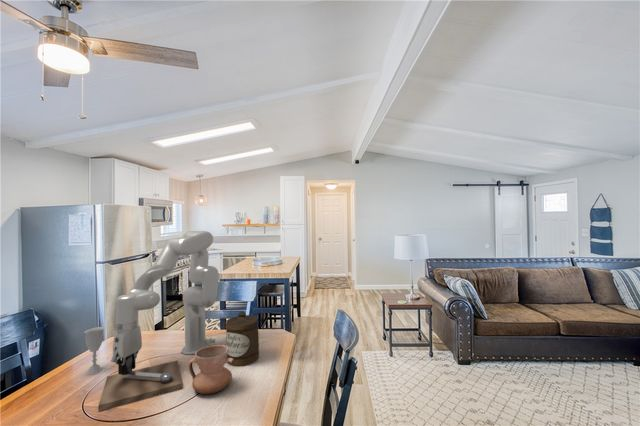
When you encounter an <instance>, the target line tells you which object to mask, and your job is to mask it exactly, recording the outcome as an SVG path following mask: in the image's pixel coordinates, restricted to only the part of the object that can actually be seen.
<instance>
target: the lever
mask: <svg viewBox="0 0 640 426" xmlns="http://www.w3.org/2000/svg"><path fill="white" fill-rule="evenodd" d="M125 364H126V374H125V375H122V378H130V379H142V380H154V381H160V382H161V383H166V382H169V381H171V380H172V379H173V372H165V373H163V374H158V373H145V372H133V369H132V355H129V356H128V357H126V360H125Z"/></svg>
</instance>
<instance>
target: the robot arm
mask: <svg viewBox="0 0 640 426" xmlns="http://www.w3.org/2000/svg"><path fill="white" fill-rule="evenodd" d="M213 242H214V236H213V234H212V233H211V232H209V231H206V230H191V231H187V232H185V233H183V235H182V237H171V238H169V239H167V240H166V242H165V243H164V245H163V247H162V249H161V251H160V253H159V254H158V255H157V257H156V260H155V261H154V263H153V265H152V266H150V267H149V268H147V270H146V271H145V272H144V273H142V274H141V275H140V276H139V277H138V279H136V280H135V282H134V284H133V285H132V286H131V287H132V288H131V289H130V290H129V293H128V294H123V295H119V296H118V297H116V300H115V327H114V331H115V332H114V335H113V342H112V357H111V359H110V362H111V363H114V364H116V365H118V369H117V372H118V373H117V374H121V375H125V374H126V364H125V360H126V357H128V356H129V355H132V370H136V359H137V357H138V354H139V351H141V349H142V347H143V346H142V345H143V341H142V340H143V339H142V338H143V337H142V330H141V327H140V325H139V311H146V310H151V309H154V308H155V307H157V305H159V304H160V301H161V297H160V294H159V293H158V292H156V291H154V290H150V288H151V287H152V286H153V284H155V283H156V282H157V281H158V280H160V279H162V278H165V277H167V276H168V275H171V274H172V273H173V271H174V270H175V269H174V268H175V267H176V265H177V263H178V261H179V259H180V258H181V256H184V257H187V256H190V264H189V271H188V280H189V281H190V283H192V284H195V286H190V287H187V288H186V289H185V290H184V291H183V294H182V304H183V309H184V339H185V340H184V346H182V349H181V353H183V354H184V355H189V356H190V355H195V353H196V351H197V350H199V349H201V348H203V347H207V346H210V344H213V343H216V338H212V337H210V338H207V337H206V310H205V308H206V309H207V308H208V309H210V308H211V307H213V306H214V305H215V302H216V301H217V298H218V297H217V296H218V290H219V280H220V272H219V270H218V268H216V267H215V266H213V265H209V259H210V257H209V256H210V255H209V250H208V249H209V248H210V247H211V246H212V244H213ZM196 285H201V286H196Z"/></svg>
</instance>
